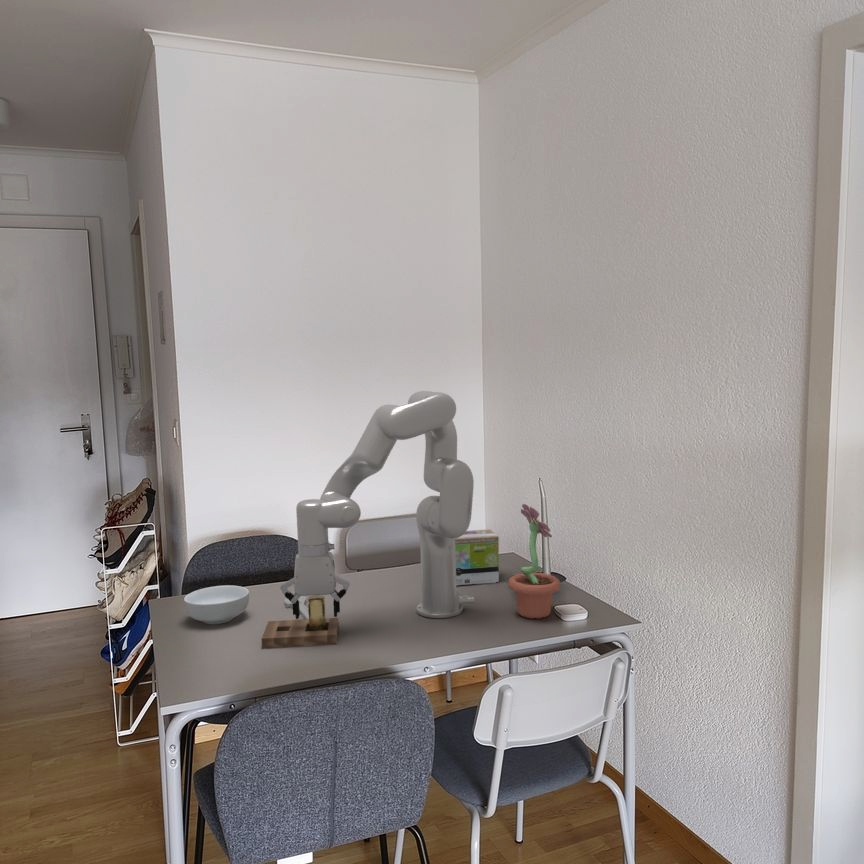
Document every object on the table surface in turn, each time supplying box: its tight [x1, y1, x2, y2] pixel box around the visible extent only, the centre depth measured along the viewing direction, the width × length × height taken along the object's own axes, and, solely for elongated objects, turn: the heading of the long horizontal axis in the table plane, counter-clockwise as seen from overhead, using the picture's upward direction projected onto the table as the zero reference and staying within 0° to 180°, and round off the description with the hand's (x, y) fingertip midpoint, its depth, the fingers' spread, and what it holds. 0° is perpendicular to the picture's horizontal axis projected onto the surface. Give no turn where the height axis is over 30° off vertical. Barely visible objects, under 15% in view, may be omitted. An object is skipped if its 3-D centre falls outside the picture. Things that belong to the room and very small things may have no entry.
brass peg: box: [307, 595, 327, 631], centre depth 195 cm, size 4×4×10 cm
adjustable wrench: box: [284, 596, 309, 619], centre depth 212 cm, size 25×6×2 cm, turn 20°
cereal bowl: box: [183, 584, 250, 625], centre depth 210 cm, size 17×17×7 cm
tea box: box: [454, 529, 500, 586], centre depth 237 cm, size 15×10×15 cm
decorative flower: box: [507, 503, 562, 619], centre depth 205 cm, size 15×14×30 cm
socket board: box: [261, 617, 340, 649], centre depth 195 cm, size 18×12×2 cm, turn 94°
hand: (316, 616), depth 195 cm, fingers open, 9 cm apart
